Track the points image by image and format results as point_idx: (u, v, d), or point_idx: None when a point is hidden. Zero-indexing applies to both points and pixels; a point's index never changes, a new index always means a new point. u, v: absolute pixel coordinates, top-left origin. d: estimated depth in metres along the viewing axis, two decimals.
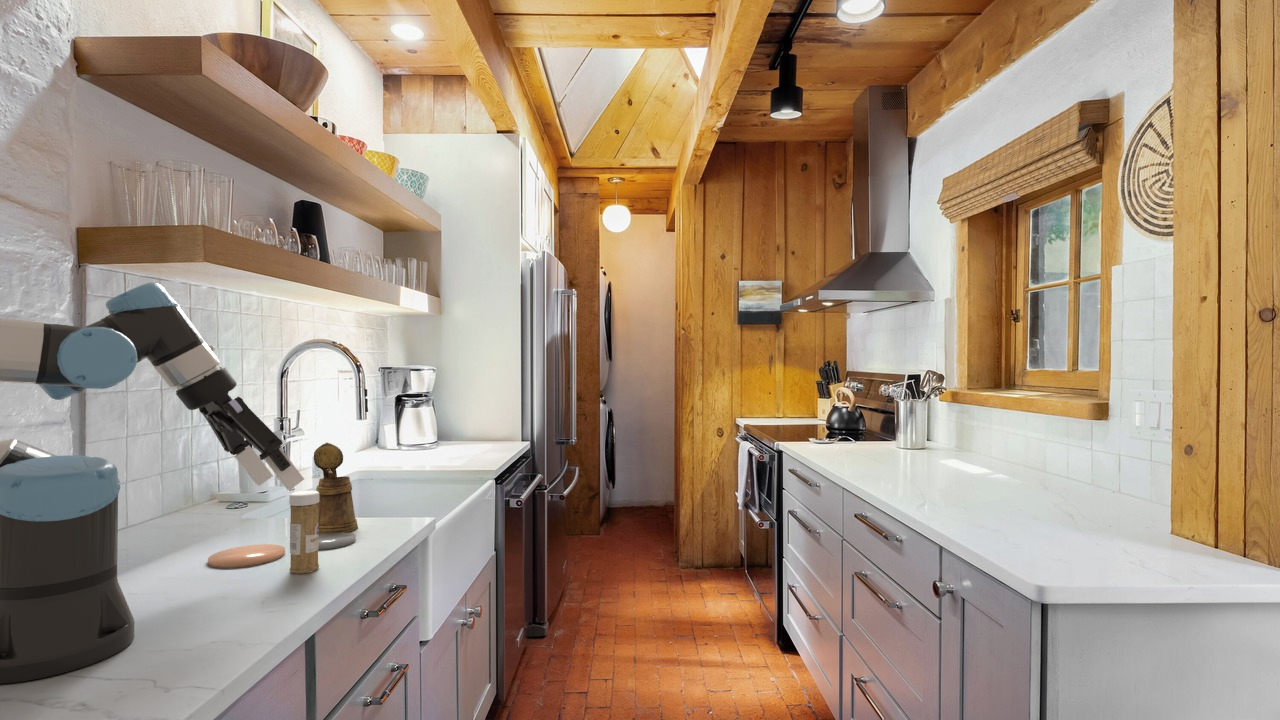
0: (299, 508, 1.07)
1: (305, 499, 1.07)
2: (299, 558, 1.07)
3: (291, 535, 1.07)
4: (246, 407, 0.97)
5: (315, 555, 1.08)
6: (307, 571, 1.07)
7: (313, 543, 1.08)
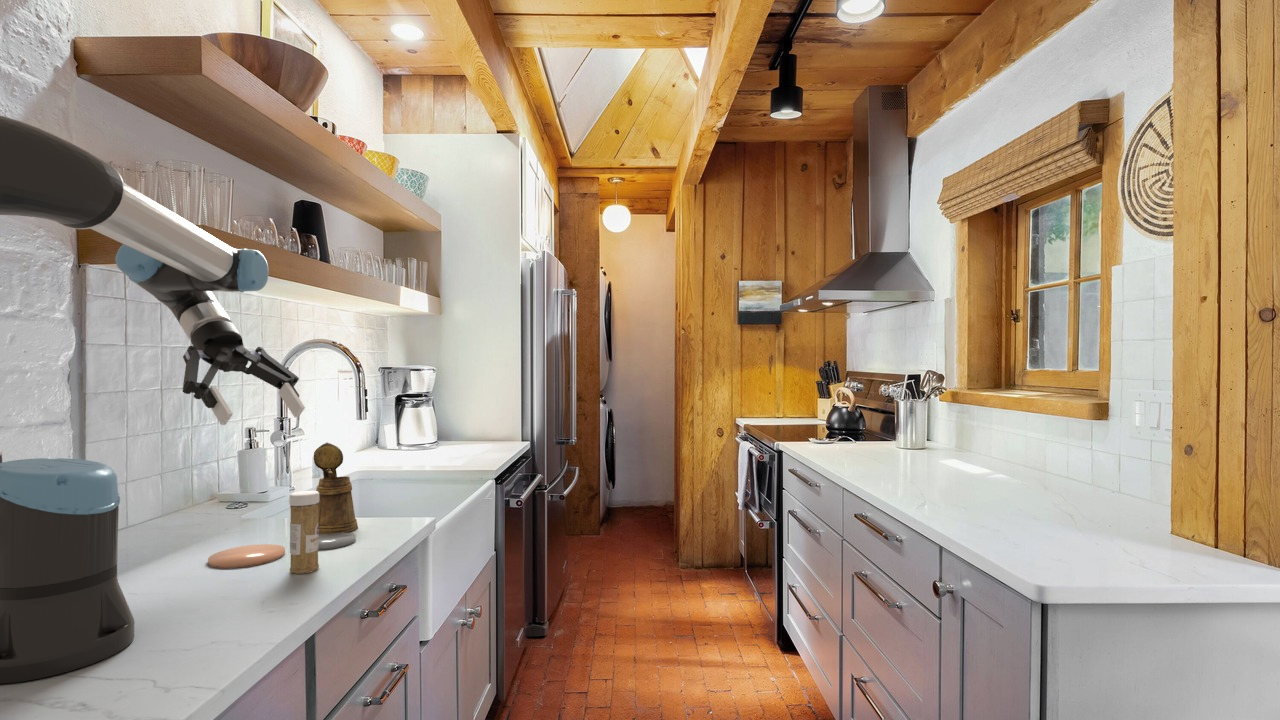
0: (299, 508, 1.07)
1: (305, 499, 1.07)
2: (299, 558, 1.07)
3: (291, 535, 1.07)
4: None
5: (315, 555, 1.08)
6: (307, 571, 1.07)
7: (313, 543, 1.08)
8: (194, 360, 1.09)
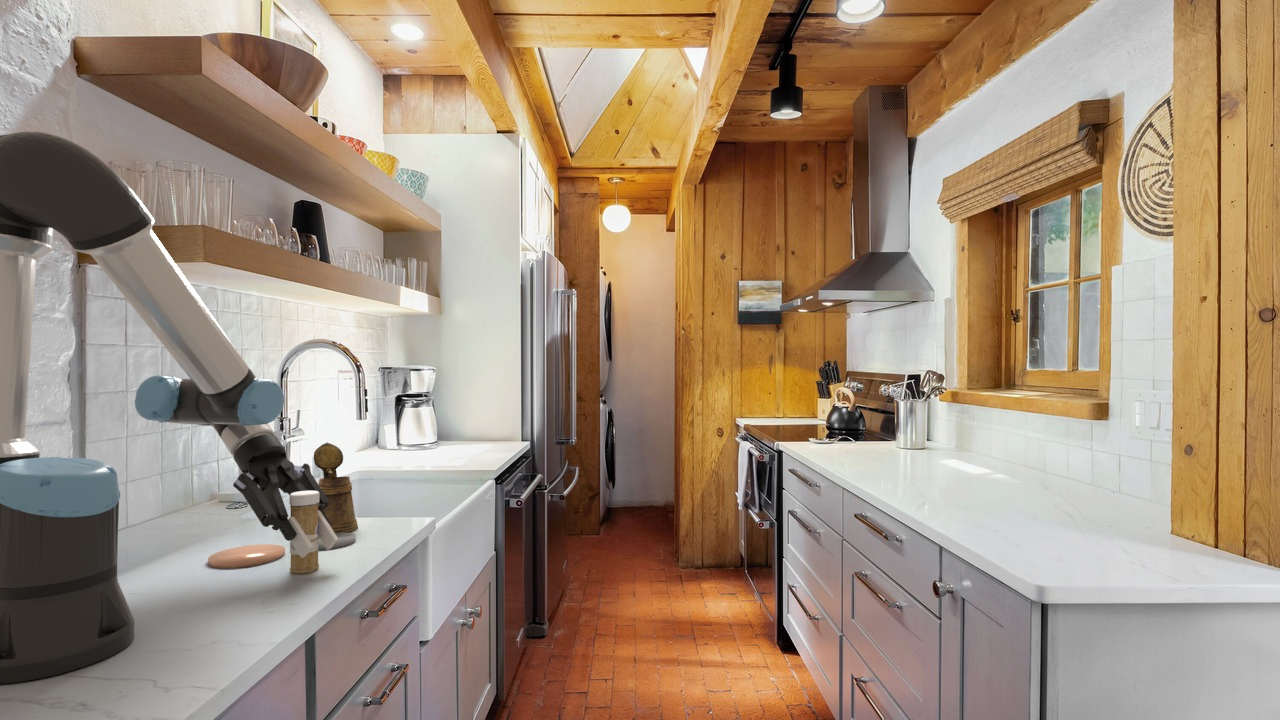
0: (299, 508, 1.07)
1: (305, 499, 1.07)
2: (299, 558, 1.07)
3: None
4: None
5: (315, 555, 1.08)
6: (307, 571, 1.07)
7: (313, 543, 1.08)
8: (255, 489, 1.06)
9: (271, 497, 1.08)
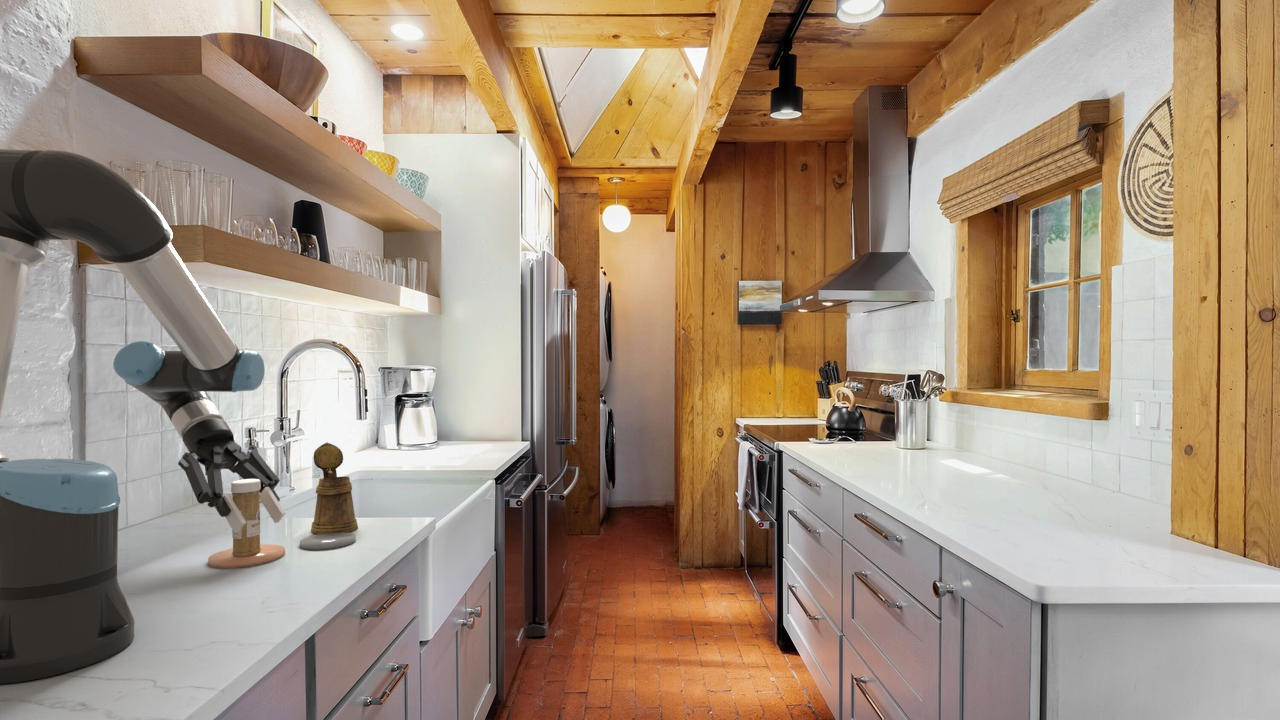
0: (240, 495, 1.13)
1: (245, 487, 1.13)
2: (241, 542, 1.13)
3: None
4: None
5: (256, 539, 1.15)
6: (248, 554, 1.14)
7: (254, 528, 1.15)
8: (196, 468, 1.12)
9: (211, 476, 1.14)
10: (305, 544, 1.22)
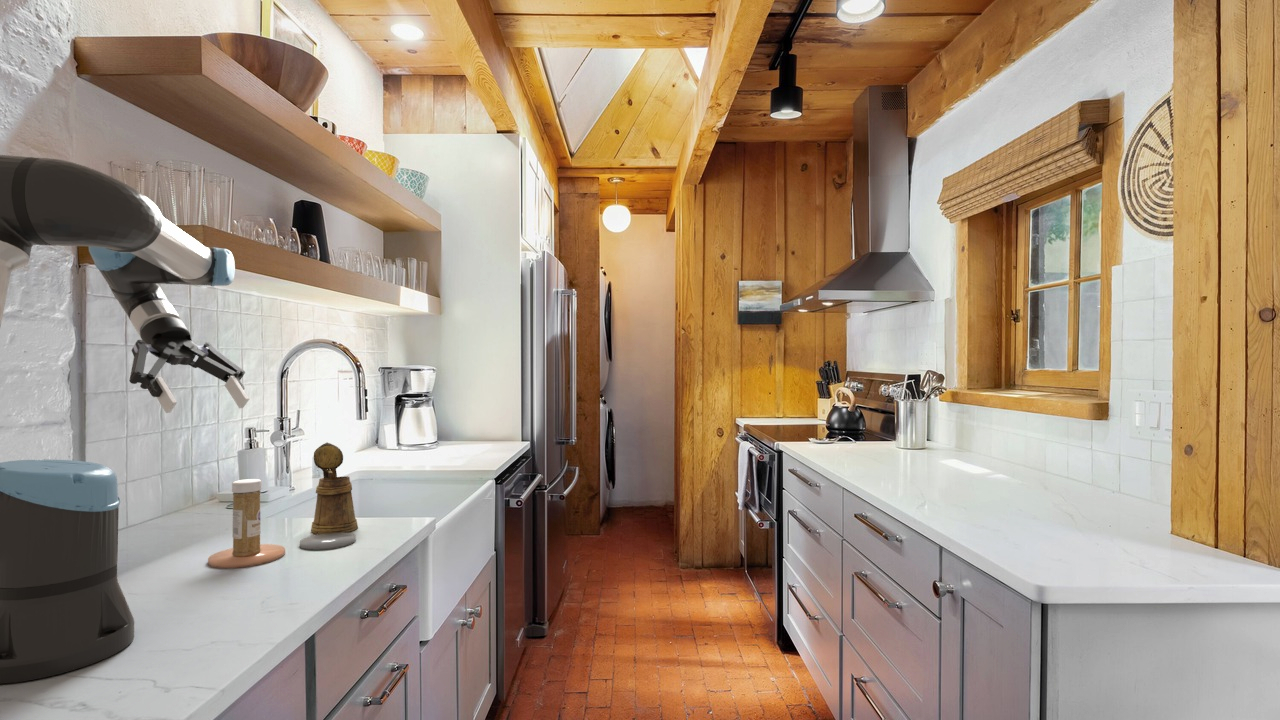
0: (240, 495, 1.13)
1: (246, 487, 1.14)
2: (241, 541, 1.13)
3: (233, 520, 1.14)
4: None
5: (257, 539, 1.15)
6: (248, 554, 1.14)
7: (254, 528, 1.15)
8: (142, 353, 1.17)
9: None
10: (305, 544, 1.22)
